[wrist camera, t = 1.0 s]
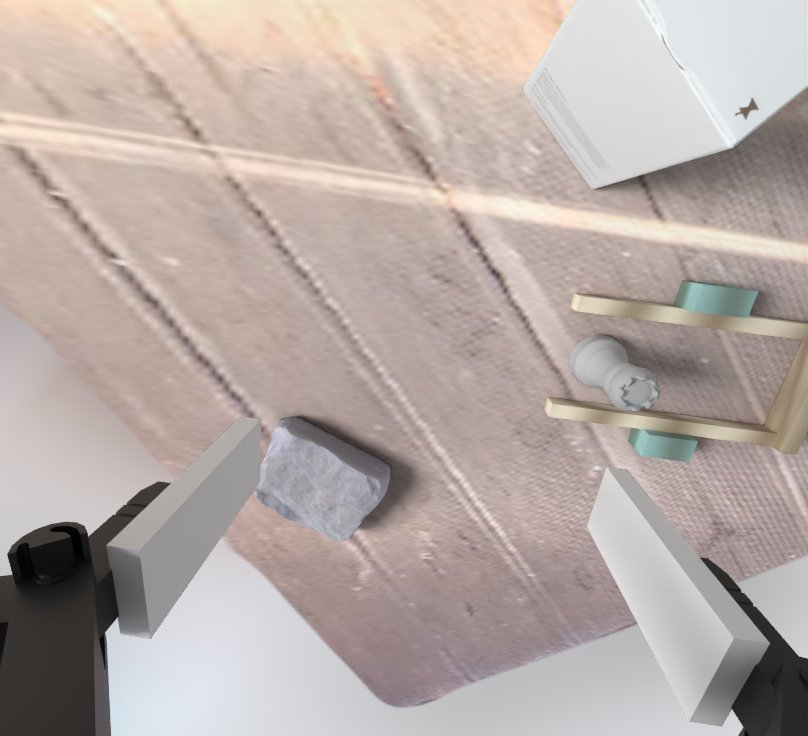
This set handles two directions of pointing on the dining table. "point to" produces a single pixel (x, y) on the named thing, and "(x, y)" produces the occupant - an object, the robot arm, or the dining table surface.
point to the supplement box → (666, 79)
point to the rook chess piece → (613, 373)
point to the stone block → (320, 479)
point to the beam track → (672, 433)
